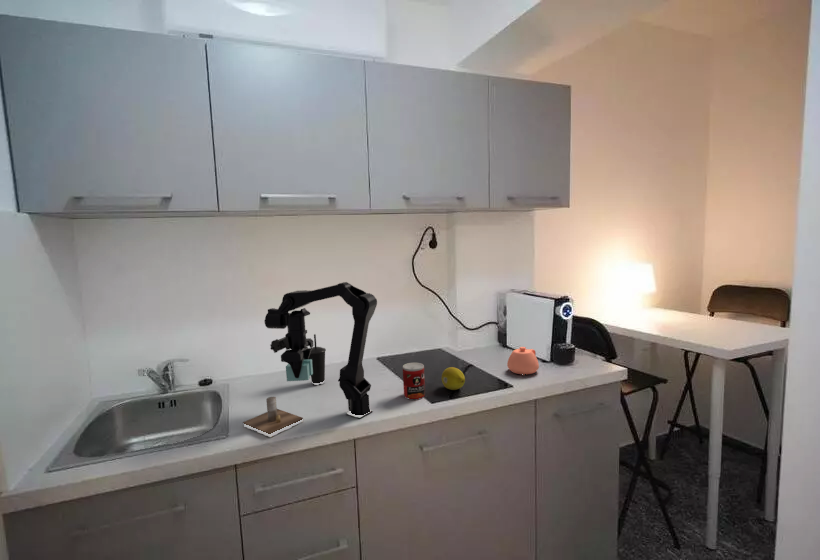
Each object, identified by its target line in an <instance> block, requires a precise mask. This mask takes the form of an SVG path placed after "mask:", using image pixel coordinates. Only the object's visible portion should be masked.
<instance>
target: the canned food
mask: <svg viewBox="0 0 820 560" xmlns="http://www.w3.org/2000/svg"><path fill="white" fill-rule="evenodd" d="M402 385H403V396H404V398H405V397H406V399H407V398H409V399H408V400H410V399H417V400H420V399H419V398H421V399H423V398H424V397H425V395H426V380H425V365H424V364H423V363H421V362H408V363H405V364H403V365H402ZM422 397H423V398H422Z"/></svg>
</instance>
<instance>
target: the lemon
mask: <svg viewBox="0 0 820 560" xmlns="http://www.w3.org/2000/svg"><path fill="white" fill-rule="evenodd" d="M440 377H441V383H442V384H443V386H444V387H445V388H446V389H448V390H451V391H456V390H460V389H461V388H462V387H464V385H465V382H466V377H465V374H464V373H463V371H461V370H460V369H459V368H457V367H453V366H451V367H447V368H446V369H444V370H443V371H442V374H441V376H440Z"/></svg>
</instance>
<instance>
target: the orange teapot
mask: <svg viewBox="0 0 820 560" xmlns="http://www.w3.org/2000/svg"><path fill="white" fill-rule="evenodd" d="M536 353H537V352H536V350H535V349H534V348H530V349H528V348H526V347H525V346H520V347H519V348H516V349H514V350H512V351H511V354H510V355H509V356H508V360H507V365H506V366H507V368H508V370H509V371H511V372H512V373H514V374H518V375H521V374H523V375H522V376H526V375H532V374H534V373H536V372H537V371H538V370H539V368H540V365H539V361H538V358H537V356H536ZM525 374H526V375H525Z"/></svg>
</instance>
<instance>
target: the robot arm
mask: <svg viewBox="0 0 820 560" xmlns="http://www.w3.org/2000/svg"><path fill="white" fill-rule="evenodd" d="M335 297H340V298H341V299H342V300H343V301H344V302H345V303H346V304H347V305H348V306H350V307H351V309H352V311H351V314H352V319H353V321H354V322H353V329H352V334H351V340H350V341H351V342H350V347H349V348H350V349H349V352H348V354H349V355H348V359H347V363H346V365H344V366H343V367H342V368H340V369H339V378H338V380H337V382H339V388H340V389H341V390H342V392H343V394H344V397H345V399H346V400H347V406H348V411H351V413H352V414H355V415H364V414H366V413H368V412H370V409H371V408H370V397H369V396H370V395H369V394H368V393H369V392H370V391H371V388H372V384H371V383H370V382H369V381H368V380H367V379H366V378H365V370H364V367H363V360H364V353H365V348H366V343H367V337H368V329H369V325H370V321H371V319H372V318H373V315H374V314H375V311H376V308H377V305H378V300H377V298H376V297H375V295H374V294H372V293H370V292H369V293H368V292H366V291H365V290H363V289H360V288H358V287H355V286H354V285H353V284H351V283H349V282H347V281H343V282H339V283H337V284H333V285H330V286H326V287H325V286H324V287H322V288H317V289H314V290H303V289H302V290H295V291H291V292H290V291H289V292H287V293H285V294H283V297H282V300H281V303H280V305H279V306H278V308H275V307H274V308H272V307H271V308H269V309H267V313H266V315H265V318H264V325H265V327H266V329H277V330H278V329H279V330H283V329H286V328H287V333H286V334H285V336H283V337H282V338H280V339H278V338H276V339H274V340H272V341H271V342H270V343H271V344H269V346H270V348H269V349H270V350H271V351H273V353H274V354H276V353H278V352H279V351H281V350H283V349H285V351H284V352H283V353H282V354H281V355H280V362H281V363H287V365H288V364H290V366H291V368H292V371H293V373H294V376H295V378H299V376H300V372H301V368H302V365H303V361H304V360H306V359H309V356H310V353H311V350H312V347H315V344H314V340H313V339H312V338H308V337H307V333H308V329H306V321H305V320H306V319H305V318H306V316H307V317H308V316H310V315H311V312H310V311H309V310H307V309H306V308H305V306H307V305H310V304H311V303H314V302H318V301H322V300H328V299H331V298H335ZM303 307H304V308H303ZM297 309H300V310H297Z"/></svg>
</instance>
